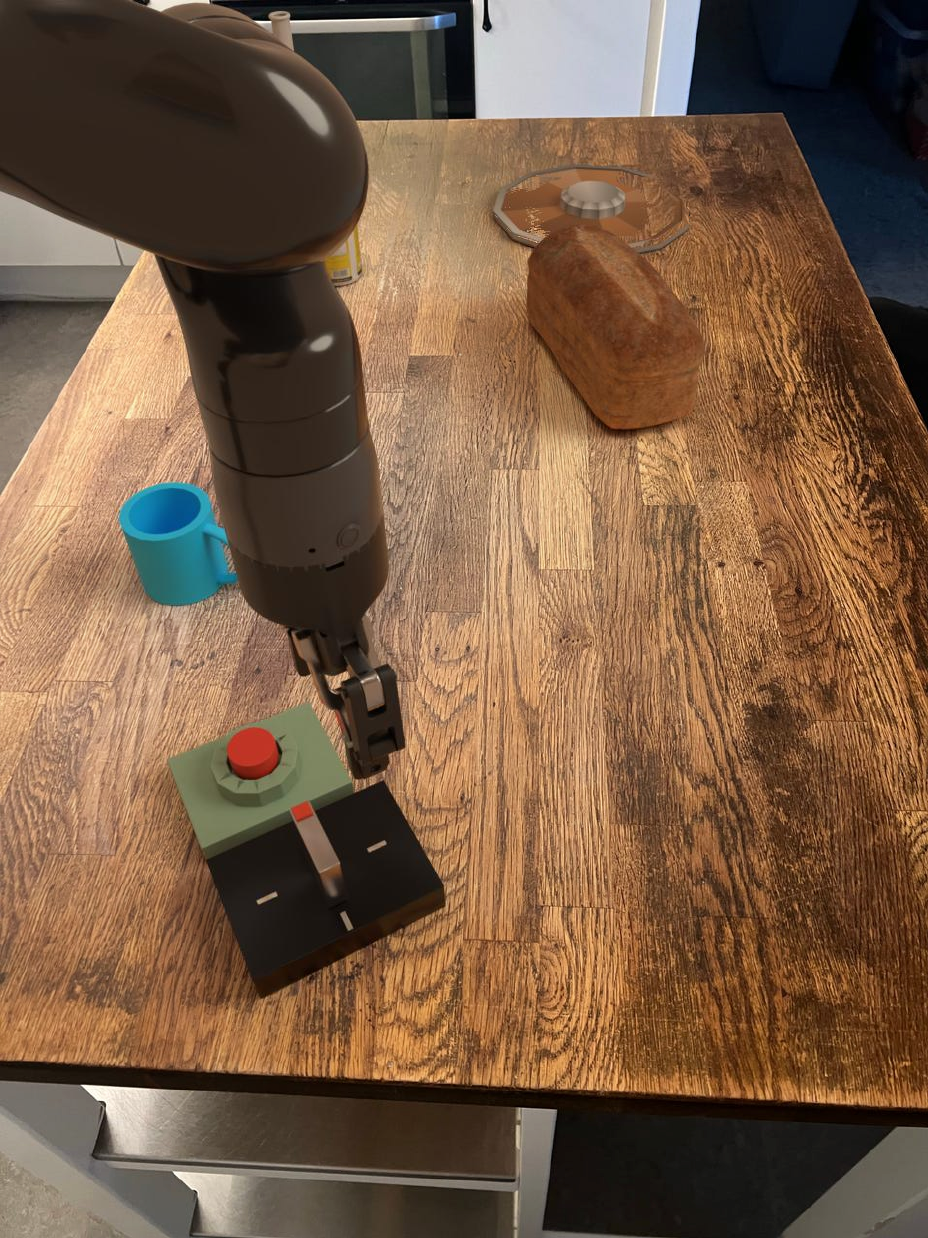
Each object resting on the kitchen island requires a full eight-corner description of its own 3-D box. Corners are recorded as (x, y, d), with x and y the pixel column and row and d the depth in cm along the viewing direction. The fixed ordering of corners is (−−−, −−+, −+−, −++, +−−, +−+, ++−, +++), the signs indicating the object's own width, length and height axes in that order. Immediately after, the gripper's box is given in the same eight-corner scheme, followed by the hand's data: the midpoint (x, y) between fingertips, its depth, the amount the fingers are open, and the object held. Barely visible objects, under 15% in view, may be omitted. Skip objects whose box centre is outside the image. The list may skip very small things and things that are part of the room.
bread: (606, 449, 105) (618, 338, 95) (514, 313, 125) (516, 210, 115) (707, 428, 107) (729, 318, 97) (600, 297, 128) (610, 195, 118)
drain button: (240, 787, 72) (235, 773, 70) (225, 752, 74) (220, 738, 73) (285, 767, 73) (282, 754, 72) (269, 733, 75) (265, 720, 74)
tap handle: (348, 899, 66) (340, 861, 62) (328, 909, 65) (318, 871, 62) (318, 837, 69) (308, 797, 65) (298, 846, 69) (287, 807, 65)
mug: (125, 594, 91) (100, 529, 85) (170, 539, 96) (149, 474, 90) (238, 623, 88) (220, 558, 82) (278, 565, 93) (264, 500, 87)
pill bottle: (349, 261, 136) (340, 177, 127) (370, 279, 132) (362, 194, 124) (307, 273, 134) (295, 189, 125) (327, 292, 130) (316, 207, 121)
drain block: (207, 864, 71) (195, 836, 68) (173, 775, 77) (160, 745, 74) (355, 797, 75) (350, 768, 72) (312, 717, 81) (305, 686, 78)
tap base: (260, 1000, 64) (252, 980, 62) (214, 880, 70) (204, 858, 68) (445, 906, 69) (444, 885, 66) (386, 801, 75) (383, 778, 73)
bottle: (278, 228, 144) (243, 14, 123) (313, 214, 147) (285, 3, 126) (304, 242, 140) (273, 24, 120) (340, 228, 143) (315, 13, 123)
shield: (459, 215, 138) (535, 139, 156) (460, 237, 140) (535, 160, 159) (663, 253, 129) (717, 168, 148) (659, 276, 132) (714, 190, 150)
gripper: (181, 450, 48) (241, 660, 60) (280, 633, 40) (328, 837, 52) (320, 408, 51) (351, 618, 63) (442, 572, 42) (452, 780, 54)
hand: (341, 717), depth 57 cm, fingers open, 8 cm apart
